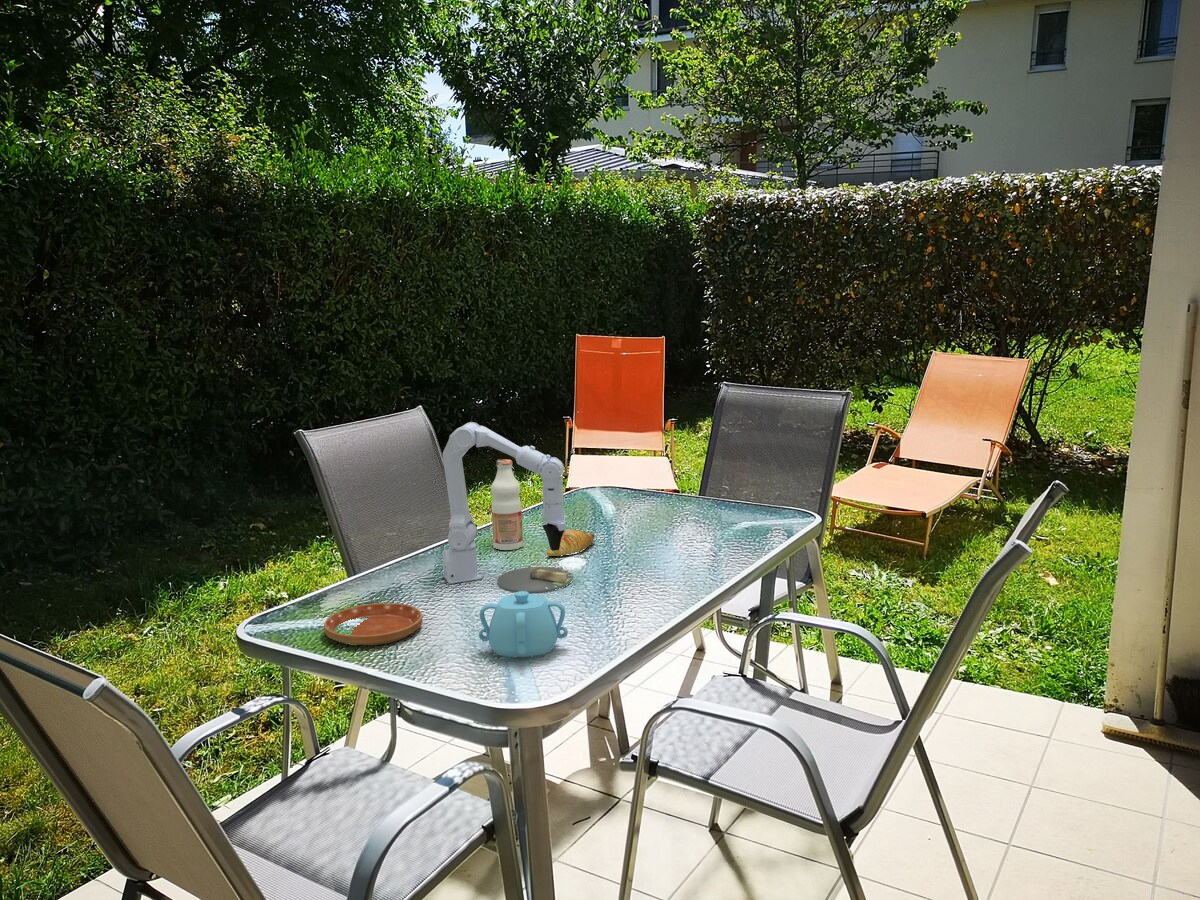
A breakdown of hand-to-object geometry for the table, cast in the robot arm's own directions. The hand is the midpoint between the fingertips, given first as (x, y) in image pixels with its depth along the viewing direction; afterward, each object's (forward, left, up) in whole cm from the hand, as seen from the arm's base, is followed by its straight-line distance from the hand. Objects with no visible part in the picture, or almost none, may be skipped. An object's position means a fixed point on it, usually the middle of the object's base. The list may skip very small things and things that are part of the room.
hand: (554, 549), depth 252 cm
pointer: (-3, -3, -7) cm, 8 cm away
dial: (-6, +1, -8) cm, 10 cm away
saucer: (-53, -18, -9) cm, 57 cm away
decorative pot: (-24, -45, -9) cm, 52 cm away
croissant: (+13, +24, -9) cm, 29 cm away
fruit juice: (-3, +37, -9) cm, 38 cm away
